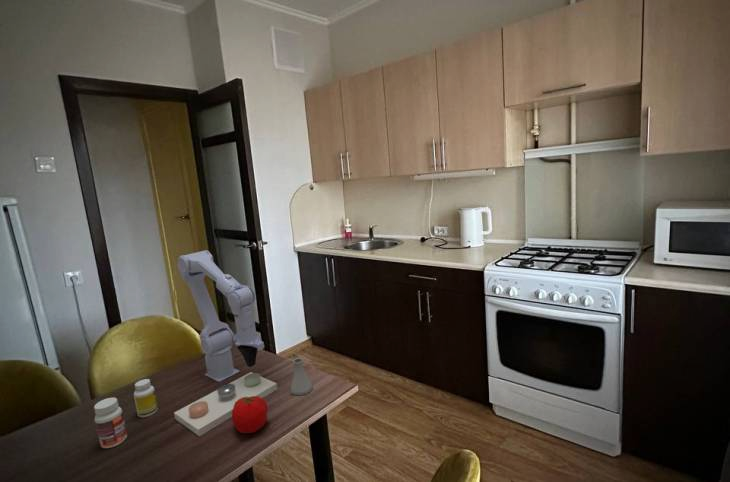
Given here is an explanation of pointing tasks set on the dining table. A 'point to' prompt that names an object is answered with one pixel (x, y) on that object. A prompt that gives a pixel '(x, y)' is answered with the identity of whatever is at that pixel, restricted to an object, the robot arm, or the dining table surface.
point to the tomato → (249, 414)
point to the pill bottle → (110, 423)
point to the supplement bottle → (145, 398)
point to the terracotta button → (198, 409)
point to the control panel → (222, 405)
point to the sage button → (252, 379)
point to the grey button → (226, 390)
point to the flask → (300, 379)
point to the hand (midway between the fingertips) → (251, 365)
